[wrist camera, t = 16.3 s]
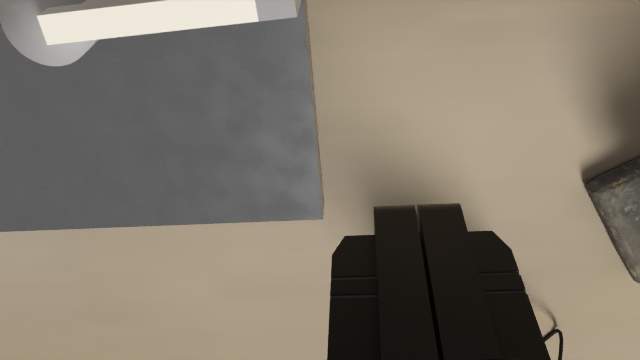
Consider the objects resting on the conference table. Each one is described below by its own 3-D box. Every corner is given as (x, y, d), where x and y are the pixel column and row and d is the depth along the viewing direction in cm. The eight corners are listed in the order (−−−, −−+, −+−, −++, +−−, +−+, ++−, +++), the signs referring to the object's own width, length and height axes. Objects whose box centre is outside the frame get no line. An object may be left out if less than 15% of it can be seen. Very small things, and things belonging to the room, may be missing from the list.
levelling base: (-130, -133, 35) (-213, -123, 30) (291, -170, 33) (280, -165, 28) (12, 216, 47) (-29, 266, 42) (324, 203, 45) (320, 254, 40)
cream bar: (41, 52, 38) (6, 80, 34) (10, -31, 35) (-31, -11, 31) (306, 23, 36) (301, 48, 32) (294, -67, 34) (287, -51, 30)
